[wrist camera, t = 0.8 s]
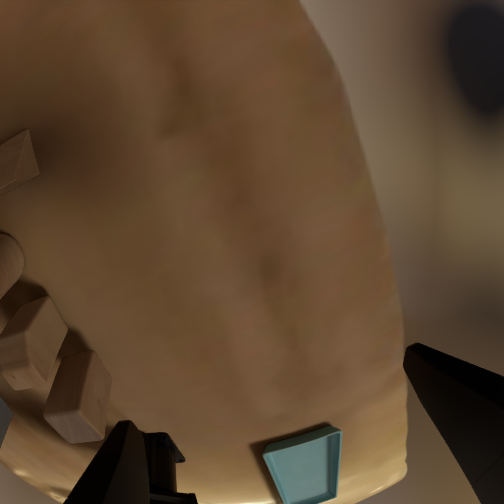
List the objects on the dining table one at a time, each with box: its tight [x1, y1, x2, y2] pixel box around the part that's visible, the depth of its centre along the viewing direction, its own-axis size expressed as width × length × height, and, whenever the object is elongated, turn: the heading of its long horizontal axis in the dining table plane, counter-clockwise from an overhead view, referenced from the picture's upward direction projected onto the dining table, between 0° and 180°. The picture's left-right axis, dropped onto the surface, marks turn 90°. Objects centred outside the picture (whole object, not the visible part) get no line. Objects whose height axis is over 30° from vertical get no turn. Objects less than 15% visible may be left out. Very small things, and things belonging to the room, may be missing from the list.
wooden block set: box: [0, 129, 112, 444], centre depth 12 cm, size 18×9×10 cm, turn 14°
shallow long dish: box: [262, 426, 342, 504], centre depth 33 cm, size 26×9×2 cm, turn 11°
